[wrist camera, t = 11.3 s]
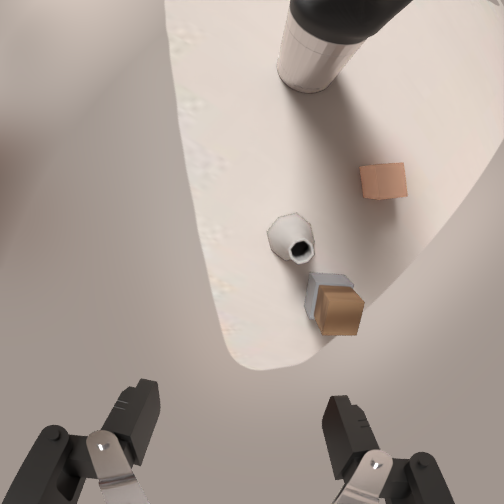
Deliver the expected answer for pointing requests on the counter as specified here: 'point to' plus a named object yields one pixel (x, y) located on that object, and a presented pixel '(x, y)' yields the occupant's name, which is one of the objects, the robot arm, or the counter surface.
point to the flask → (292, 238)
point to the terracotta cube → (383, 181)
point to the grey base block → (313, 286)
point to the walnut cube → (338, 310)
